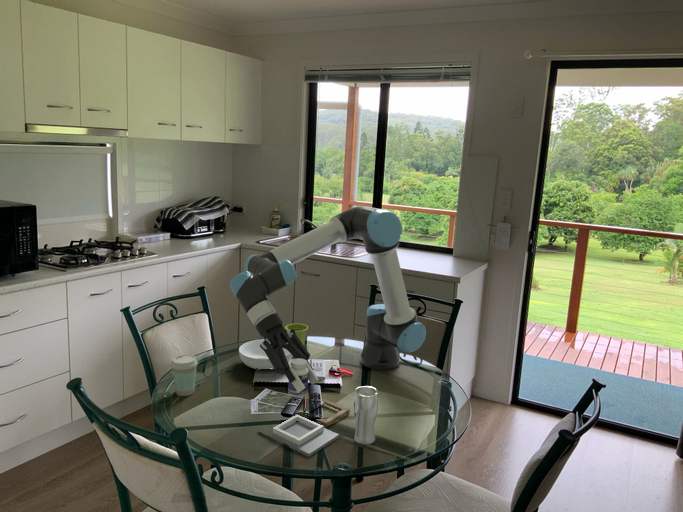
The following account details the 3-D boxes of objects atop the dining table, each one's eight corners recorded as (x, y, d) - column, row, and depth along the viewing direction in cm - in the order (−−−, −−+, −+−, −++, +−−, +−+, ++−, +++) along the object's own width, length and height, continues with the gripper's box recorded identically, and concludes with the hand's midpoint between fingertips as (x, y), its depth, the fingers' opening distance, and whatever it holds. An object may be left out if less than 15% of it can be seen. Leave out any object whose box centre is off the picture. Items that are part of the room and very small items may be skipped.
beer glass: (351, 432, 160) (352, 385, 156) (374, 432, 160) (376, 385, 157) (353, 445, 153) (355, 396, 150) (378, 445, 153) (380, 396, 150)
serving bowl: (304, 362, 210) (305, 345, 208) (271, 381, 192) (271, 363, 191) (262, 350, 220) (262, 334, 219) (227, 368, 202) (226, 350, 201)
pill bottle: (305, 399, 153) (305, 366, 150) (285, 396, 154) (286, 363, 152) (310, 390, 158) (311, 358, 156) (291, 388, 159) (292, 356, 157)
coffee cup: (190, 384, 188) (189, 352, 186) (203, 392, 182) (202, 359, 180) (167, 391, 182) (165, 358, 180) (179, 400, 176) (178, 366, 174)
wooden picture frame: (321, 402, 178) (321, 398, 177) (349, 413, 171) (349, 409, 170) (297, 415, 169) (297, 411, 168) (326, 427, 162) (326, 423, 162)
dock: (288, 415, 169) (288, 407, 168) (338, 437, 157) (339, 429, 156) (258, 431, 159) (258, 424, 158) (309, 457, 147) (309, 448, 146)
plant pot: (280, 347, 224) (280, 327, 222) (295, 341, 231) (295, 321, 229) (297, 353, 218) (297, 332, 216) (312, 346, 226) (312, 326, 224)
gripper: (279, 318, 168) (320, 381, 163) (236, 334, 153) (280, 404, 147) (292, 305, 164) (335, 369, 159) (250, 320, 149) (295, 392, 144)
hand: (308, 386), depth 153 cm, fingers closed on pill bottle, 6 cm apart
